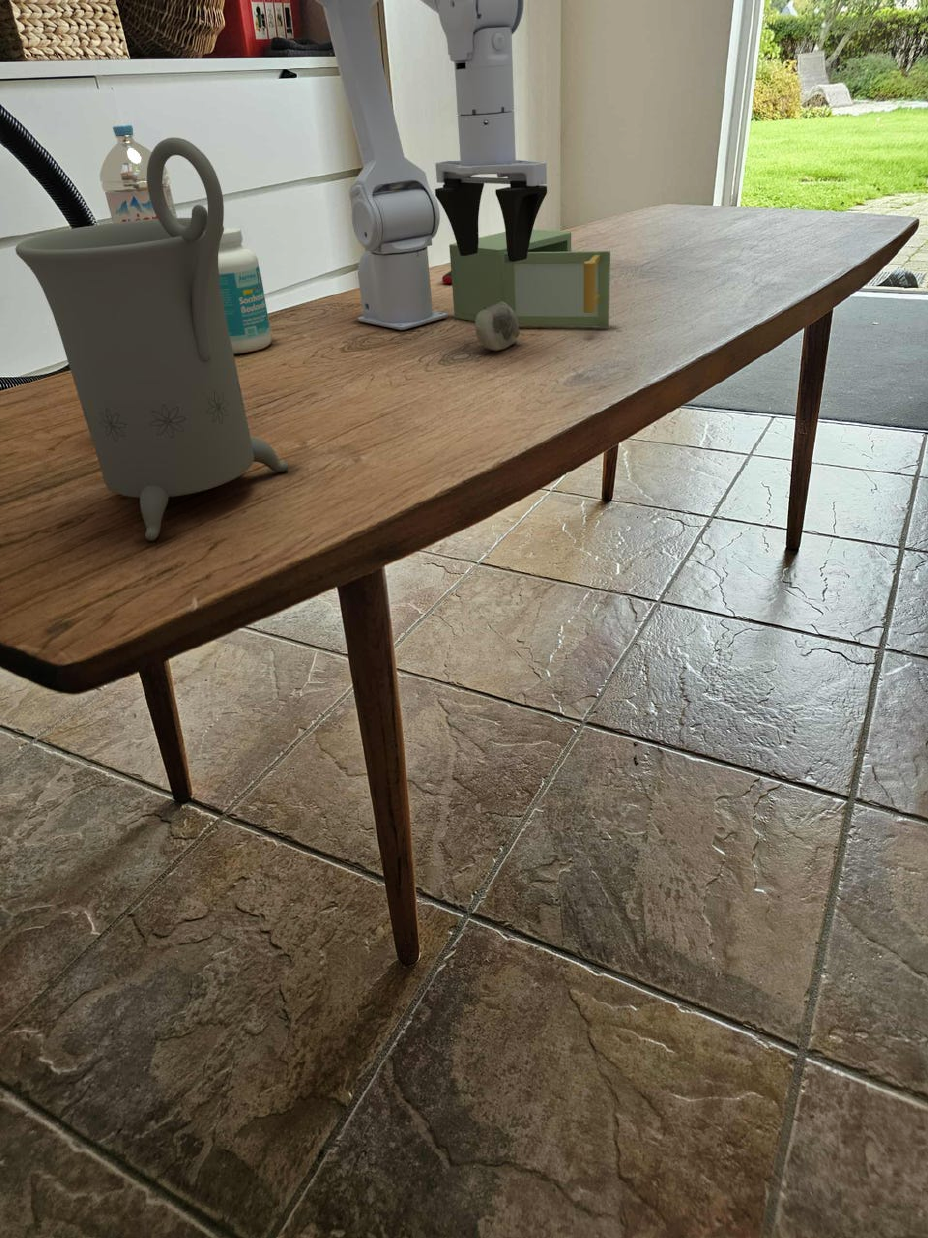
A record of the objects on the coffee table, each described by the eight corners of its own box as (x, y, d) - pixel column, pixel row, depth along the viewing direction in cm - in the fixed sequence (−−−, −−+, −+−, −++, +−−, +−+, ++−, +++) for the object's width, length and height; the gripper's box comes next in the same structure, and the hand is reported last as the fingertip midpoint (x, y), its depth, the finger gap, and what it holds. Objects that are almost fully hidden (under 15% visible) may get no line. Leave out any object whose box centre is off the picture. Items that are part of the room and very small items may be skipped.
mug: (44, 512, 69) (-84, 156, 55) (185, 448, 79) (106, 134, 66) (209, 561, 59) (103, 148, 46) (345, 481, 70) (291, 124, 56)
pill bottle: (259, 355, 105) (235, 234, 97) (203, 356, 106) (175, 237, 99) (282, 339, 111) (261, 224, 104) (228, 339, 112) (205, 226, 105)
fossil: (497, 357, 97) (494, 311, 94) (470, 355, 98) (467, 309, 96) (522, 342, 101) (521, 298, 99) (496, 340, 103) (494, 296, 100)
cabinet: (503, 326, 108) (499, 249, 103) (454, 317, 114) (449, 244, 109) (571, 305, 115) (571, 232, 111) (522, 297, 121) (520, 228, 116)
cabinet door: (495, 336, 104) (491, 261, 99) (507, 324, 108) (504, 252, 103) (600, 337, 100) (601, 259, 95) (608, 325, 104) (610, 250, 100)
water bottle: (223, 363, 103) (170, 120, 89) (190, 381, 97) (128, 125, 84) (174, 362, 105) (116, 124, 92) (139, 379, 99) (72, 130, 86)
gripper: (409, 118, 90) (421, 258, 97) (509, 114, 80) (515, 269, 88) (459, 112, 94) (467, 247, 101) (560, 108, 84) (561, 257, 92)
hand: (492, 257), depth 95 cm, fingers open, 7 cm apart
